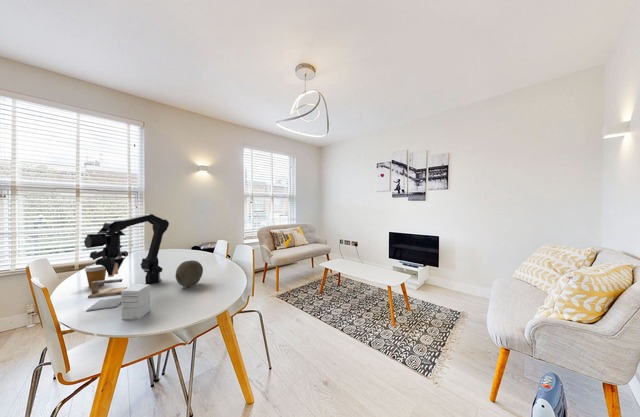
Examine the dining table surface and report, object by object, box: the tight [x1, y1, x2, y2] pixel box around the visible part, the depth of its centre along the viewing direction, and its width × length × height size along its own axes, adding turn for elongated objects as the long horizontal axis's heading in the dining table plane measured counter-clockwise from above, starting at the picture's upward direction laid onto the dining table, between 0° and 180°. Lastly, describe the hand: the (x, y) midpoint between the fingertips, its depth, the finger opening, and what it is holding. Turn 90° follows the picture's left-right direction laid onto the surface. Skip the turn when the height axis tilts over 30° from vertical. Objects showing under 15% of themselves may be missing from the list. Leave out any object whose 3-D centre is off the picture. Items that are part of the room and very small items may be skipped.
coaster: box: [85, 296, 121, 312], centre depth 108 cm, size 11×11×1 cm
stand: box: [87, 278, 128, 299], centre depth 121 cm, size 14×8×7 cm, turn 111°
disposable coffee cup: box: [83, 263, 107, 289], centre depth 130 cm, size 10×10×12 cm
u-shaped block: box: [107, 263, 119, 278], centre depth 118 cm, size 2×5×6 cm, turn 20°
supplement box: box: [120, 284, 151, 320], centre depth 98 cm, size 7×7×13 cm
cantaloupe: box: [175, 259, 204, 288], centre depth 132 cm, size 14×14×15 cm
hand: (113, 273), depth 118 cm, fingers closed on u-shaped block, 5 cm apart
